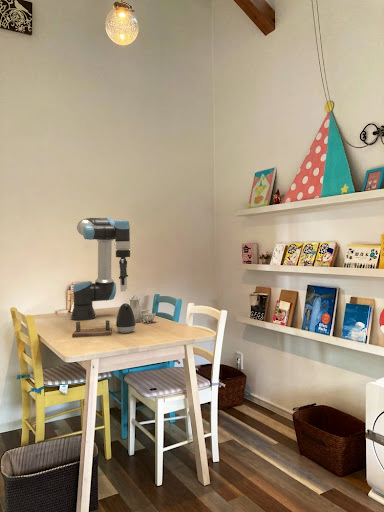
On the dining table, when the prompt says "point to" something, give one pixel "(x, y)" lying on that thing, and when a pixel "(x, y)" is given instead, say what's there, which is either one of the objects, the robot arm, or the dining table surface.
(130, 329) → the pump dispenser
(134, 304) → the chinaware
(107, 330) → the holder
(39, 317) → the dining table surface
